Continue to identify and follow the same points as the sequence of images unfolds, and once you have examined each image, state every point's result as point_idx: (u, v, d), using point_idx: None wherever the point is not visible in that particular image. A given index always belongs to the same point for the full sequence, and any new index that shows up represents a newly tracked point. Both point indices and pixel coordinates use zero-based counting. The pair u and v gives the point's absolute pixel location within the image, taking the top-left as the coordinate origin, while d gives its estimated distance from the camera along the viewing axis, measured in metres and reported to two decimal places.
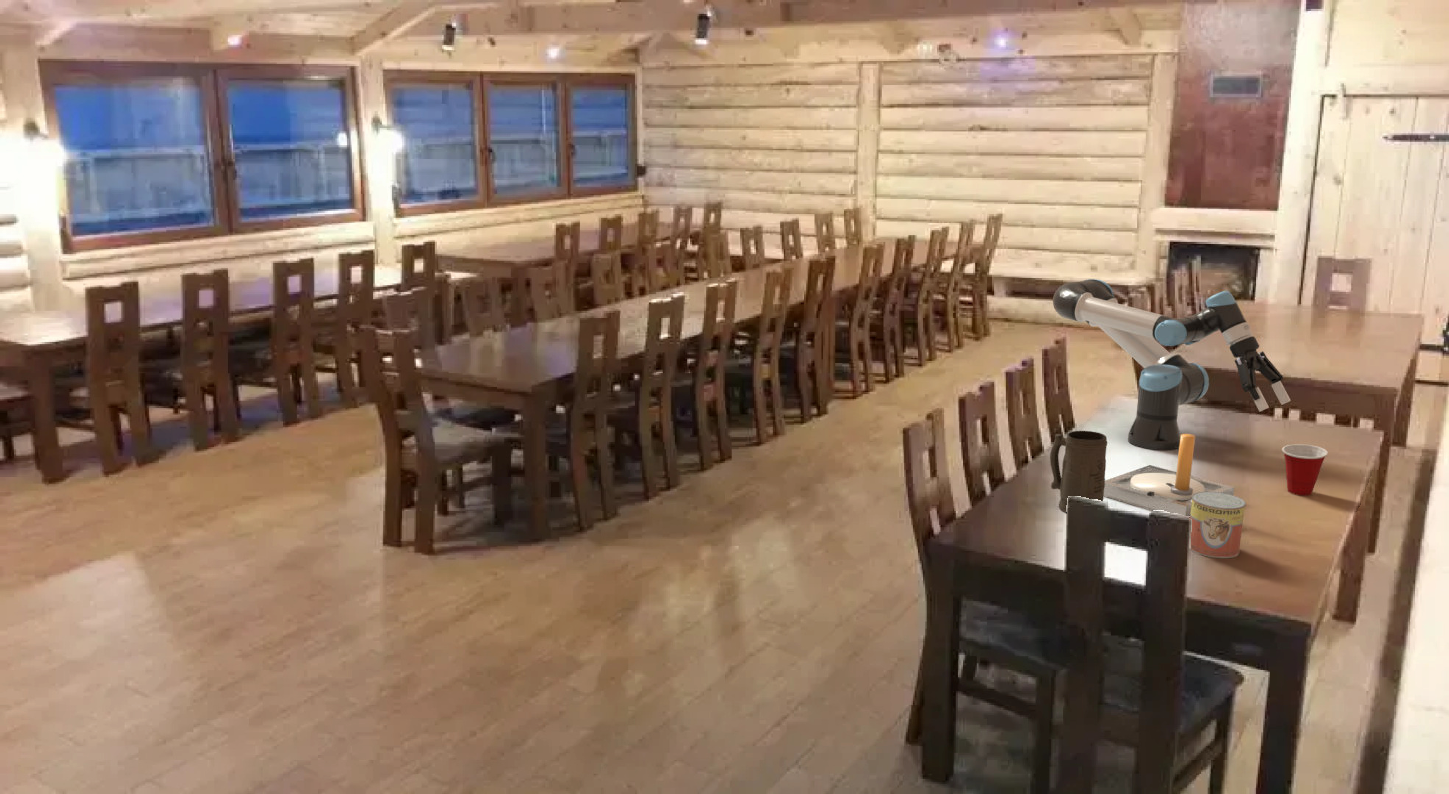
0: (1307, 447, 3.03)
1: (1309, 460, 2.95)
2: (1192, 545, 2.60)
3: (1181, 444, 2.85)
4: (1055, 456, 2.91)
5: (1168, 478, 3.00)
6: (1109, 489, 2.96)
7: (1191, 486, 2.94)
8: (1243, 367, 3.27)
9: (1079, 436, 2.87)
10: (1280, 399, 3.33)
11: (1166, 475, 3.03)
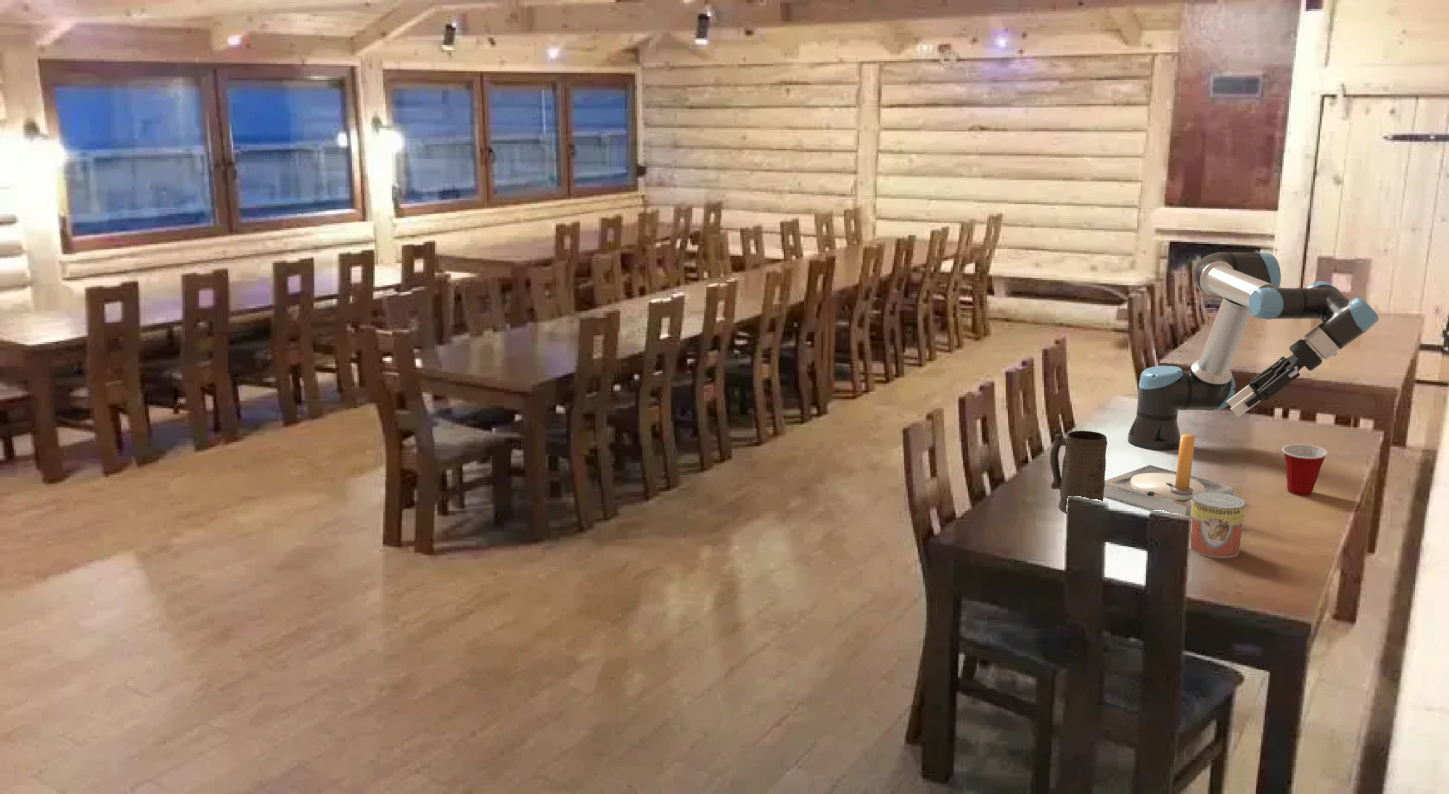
0: (1307, 447, 3.03)
1: (1309, 460, 2.95)
2: (1192, 545, 2.60)
3: (1181, 444, 2.85)
4: (1055, 456, 2.91)
5: (1168, 478, 3.00)
6: (1109, 489, 2.96)
7: (1191, 486, 2.94)
8: (1286, 382, 2.70)
9: (1079, 436, 2.87)
10: (1233, 399, 2.84)
11: (1166, 475, 3.03)
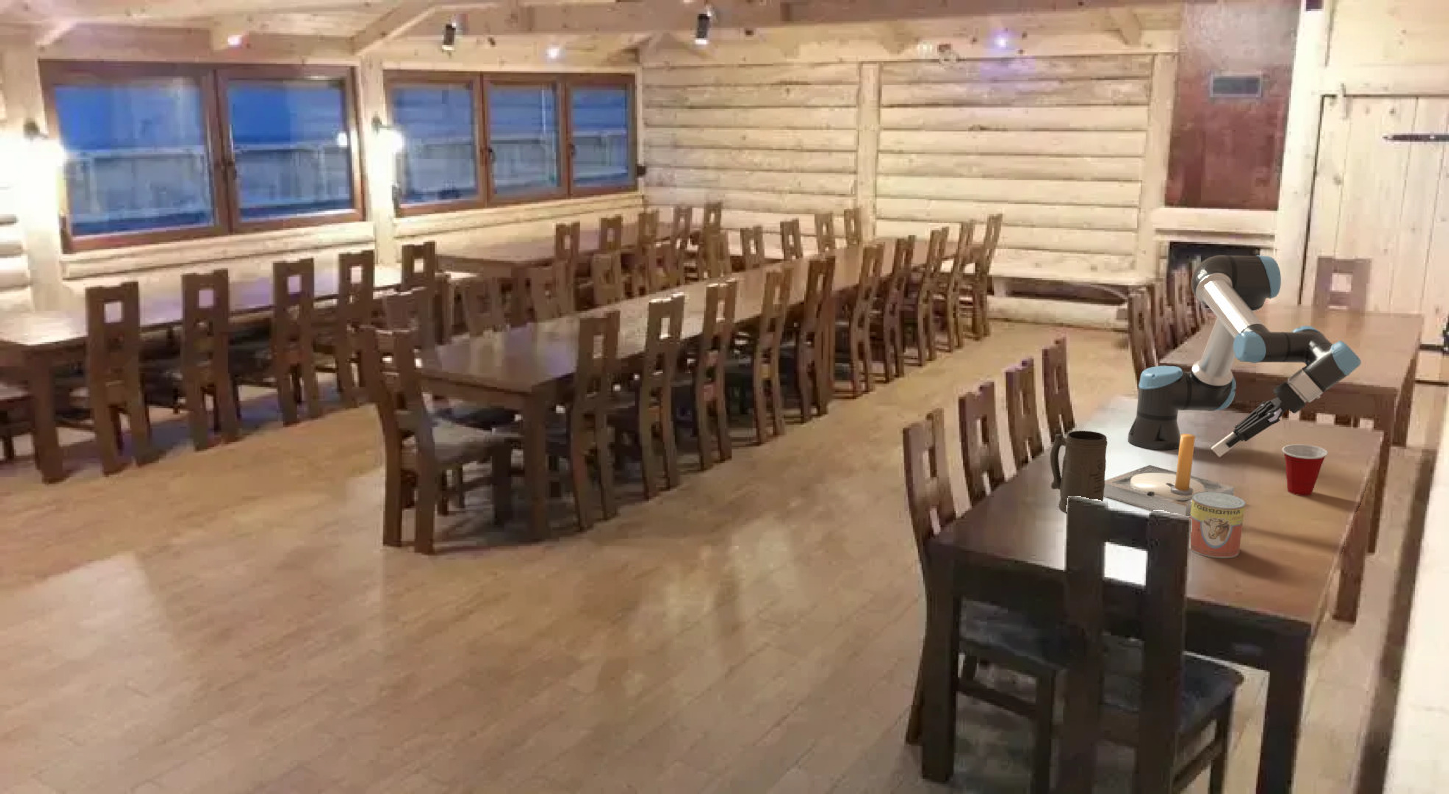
0: (1307, 447, 3.03)
1: (1309, 460, 2.95)
2: (1192, 545, 2.60)
3: (1181, 444, 2.85)
4: (1055, 456, 2.91)
5: (1168, 478, 3.00)
6: (1109, 489, 2.96)
7: (1191, 486, 2.94)
8: (1265, 426, 2.74)
9: (1079, 436, 2.87)
10: None
11: (1166, 475, 3.03)
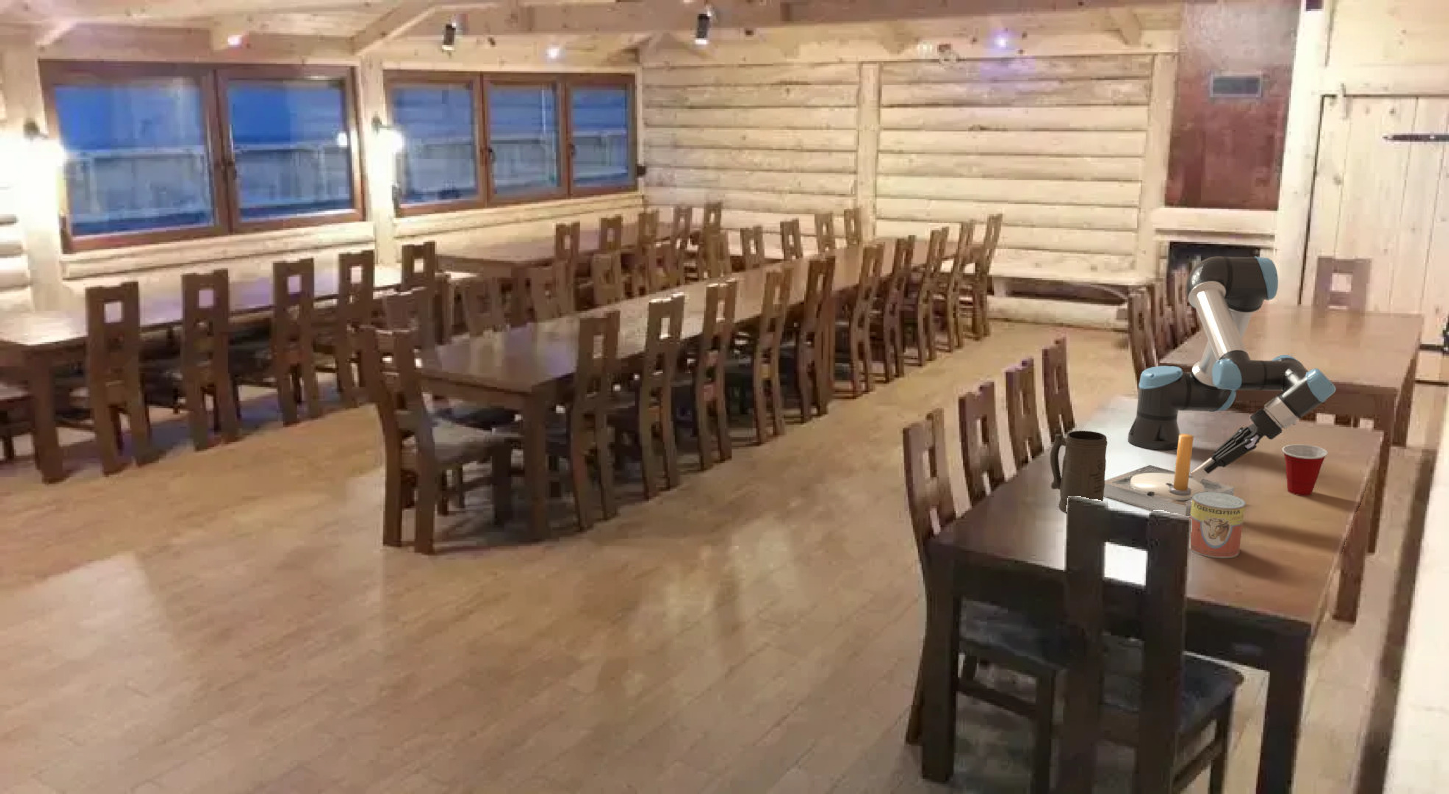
0: (1307, 447, 3.03)
1: (1309, 460, 2.95)
2: (1192, 545, 2.60)
3: (1179, 443, 2.86)
4: (1055, 456, 2.91)
5: (1169, 478, 3.00)
6: (1109, 489, 2.96)
7: (1191, 486, 2.93)
8: (1242, 452, 2.78)
9: (1079, 436, 2.87)
10: None
11: (1168, 475, 3.02)
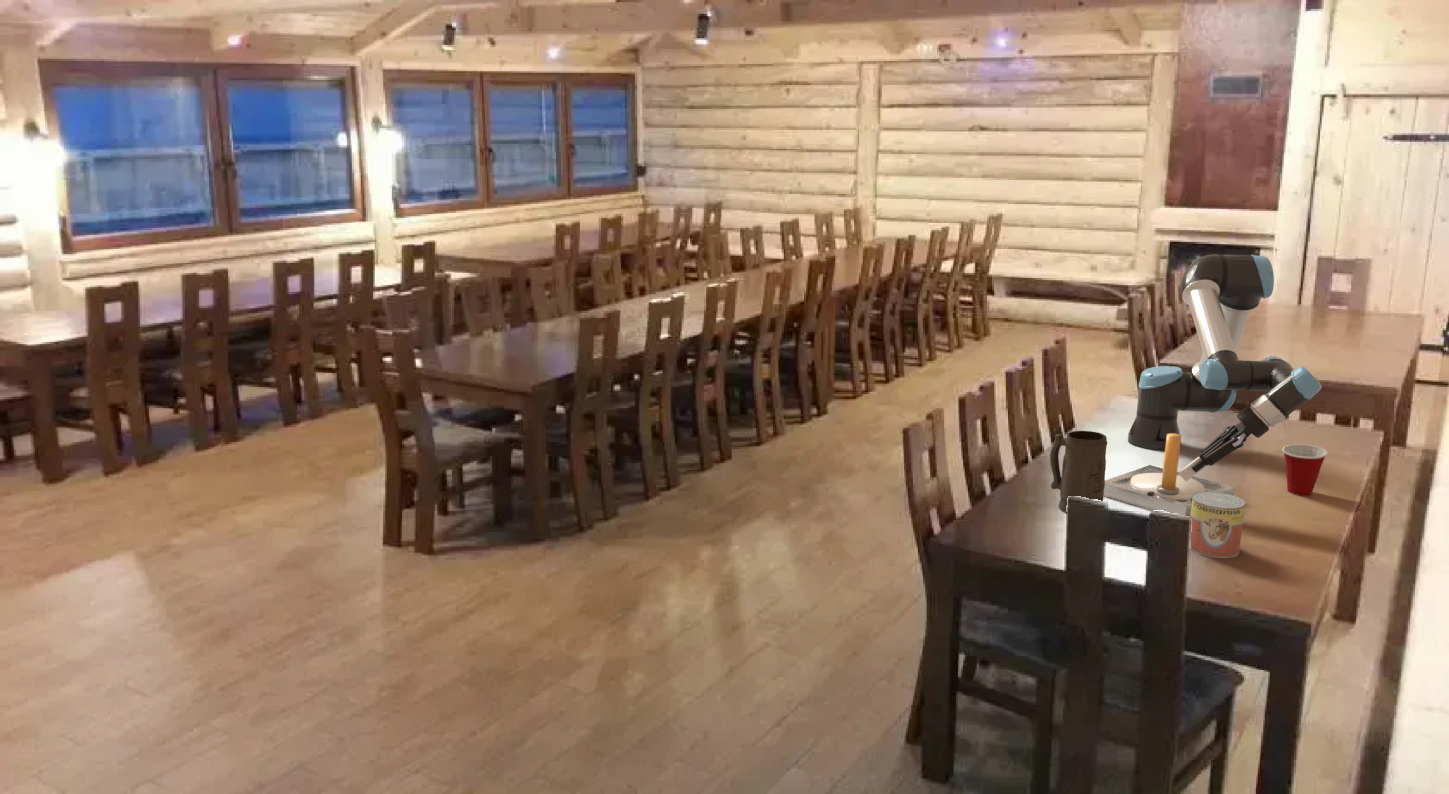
0: (1307, 447, 3.03)
1: (1309, 460, 2.95)
2: (1192, 545, 2.60)
3: (1166, 442, 2.87)
4: (1055, 456, 2.91)
5: (1177, 480, 2.99)
6: (1109, 489, 2.96)
7: (1188, 489, 2.92)
8: (1230, 450, 2.78)
9: (1079, 436, 2.87)
10: None
11: (1180, 477, 3.01)
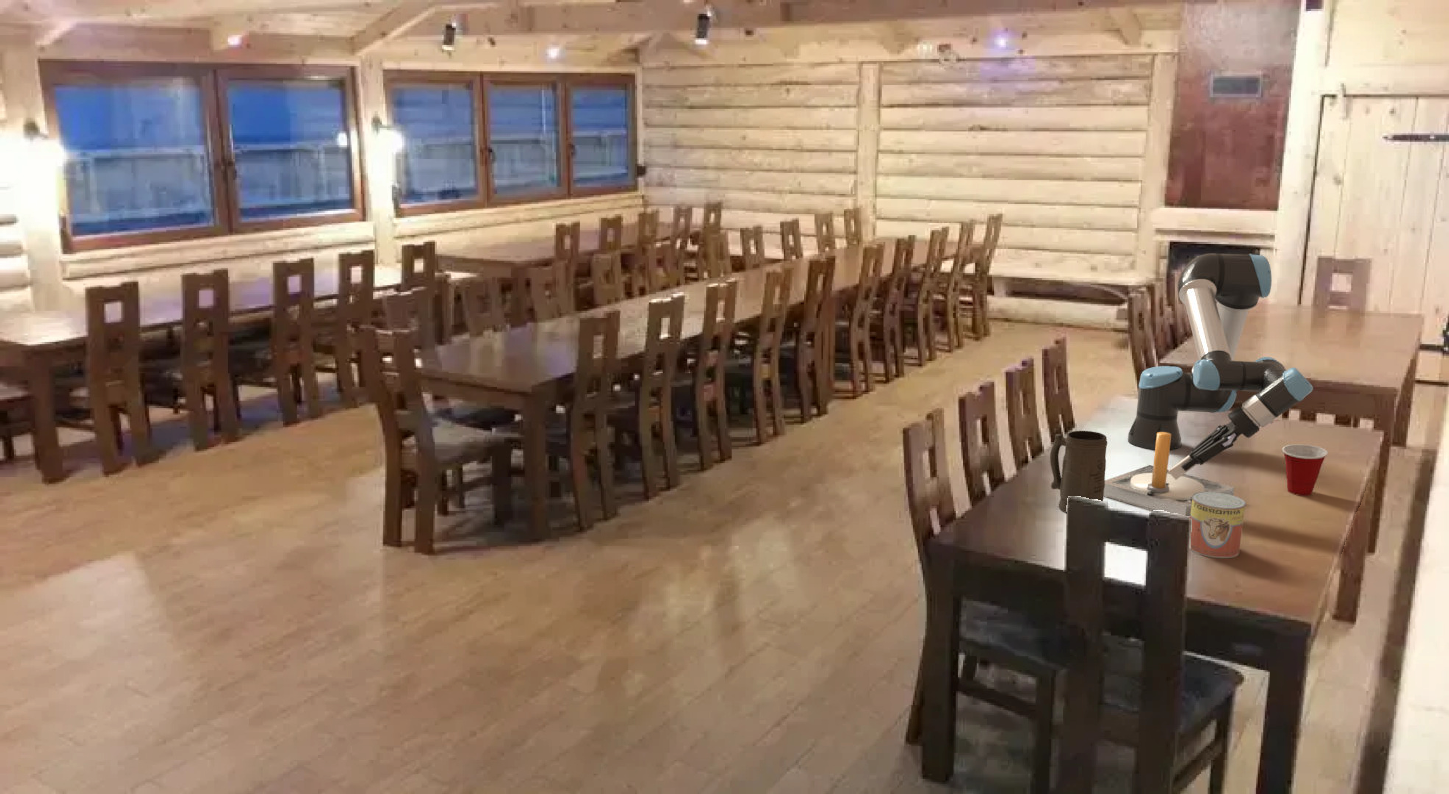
0: (1307, 447, 3.03)
1: (1309, 460, 2.95)
2: (1192, 545, 2.60)
3: (1156, 440, 2.88)
4: (1055, 456, 2.91)
5: (1182, 481, 2.97)
6: (1109, 489, 2.96)
7: (1183, 490, 2.91)
8: (1220, 450, 2.79)
9: (1079, 436, 2.87)
10: None
11: (1188, 480, 2.99)
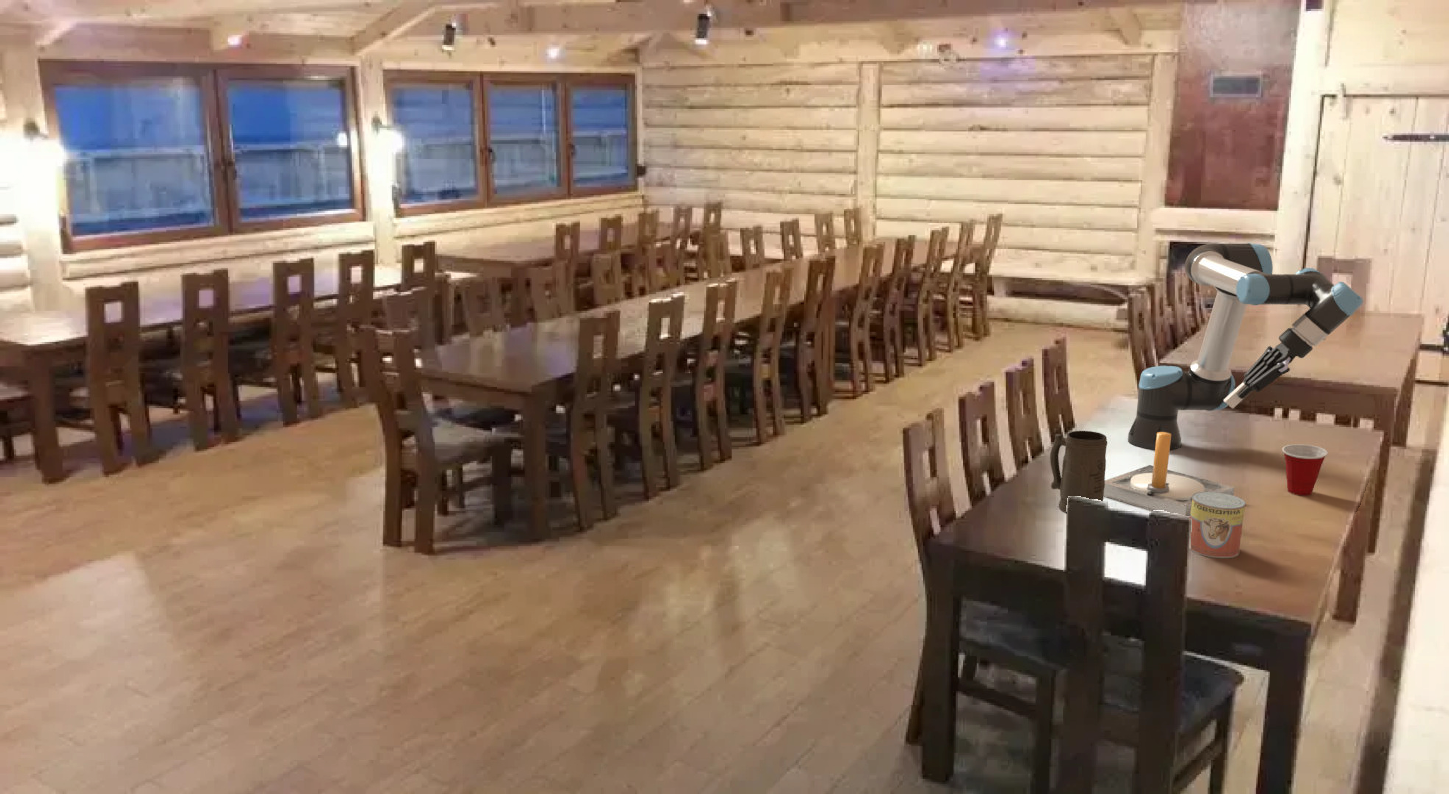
0: (1307, 447, 3.03)
1: (1309, 460, 2.95)
2: (1192, 545, 2.60)
3: (1156, 440, 2.88)
4: (1055, 456, 2.91)
5: (1182, 481, 2.97)
6: (1109, 489, 2.96)
7: (1183, 490, 2.91)
8: (1276, 376, 2.76)
9: (1079, 436, 2.87)
10: None
11: (1188, 480, 2.99)
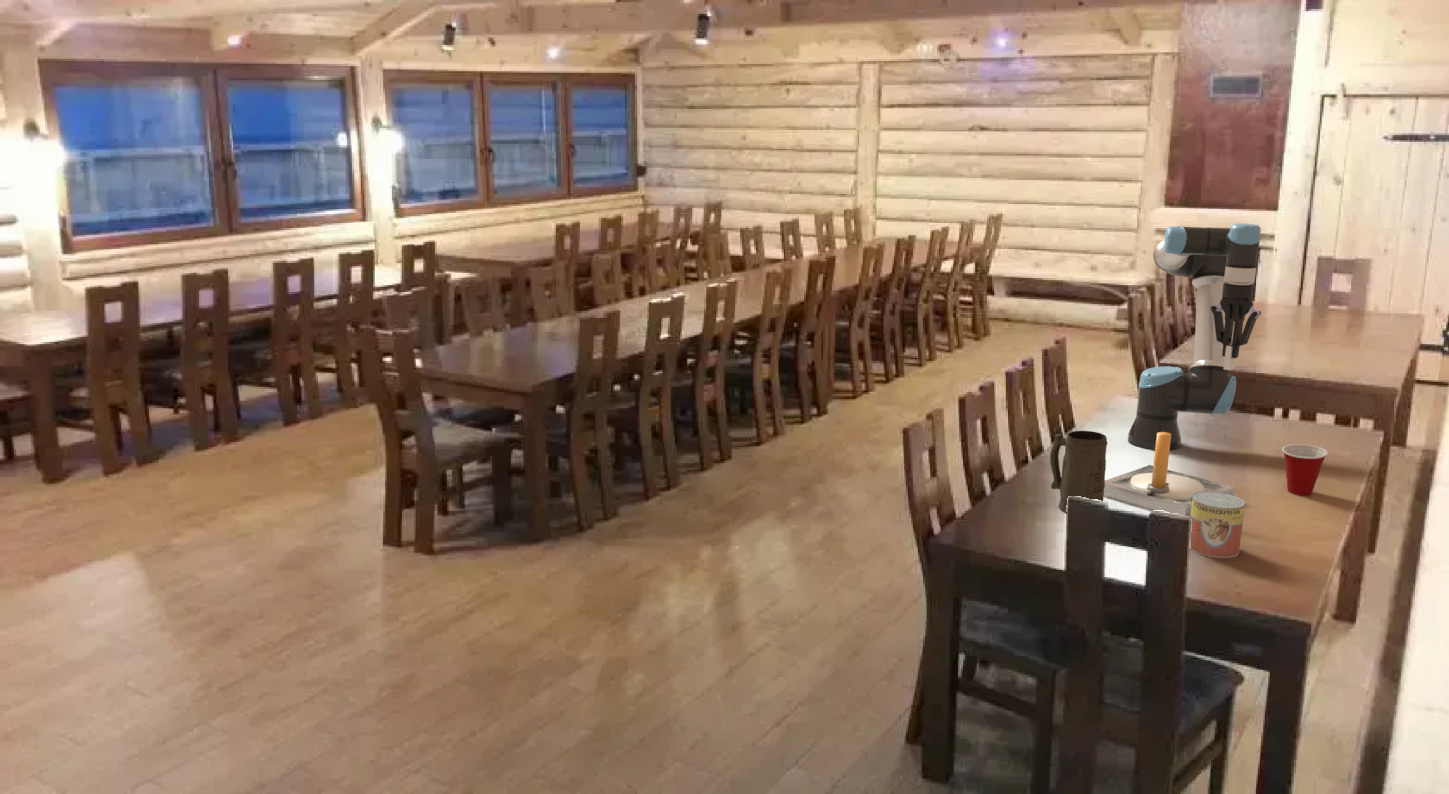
0: (1307, 447, 3.03)
1: (1309, 460, 2.95)
2: (1192, 545, 2.60)
3: (1156, 440, 2.88)
4: (1055, 456, 2.91)
5: (1182, 481, 2.97)
6: (1109, 489, 2.96)
7: (1183, 490, 2.91)
8: (1253, 323, 3.01)
9: (1079, 436, 2.87)
10: None
11: (1188, 480, 2.99)
